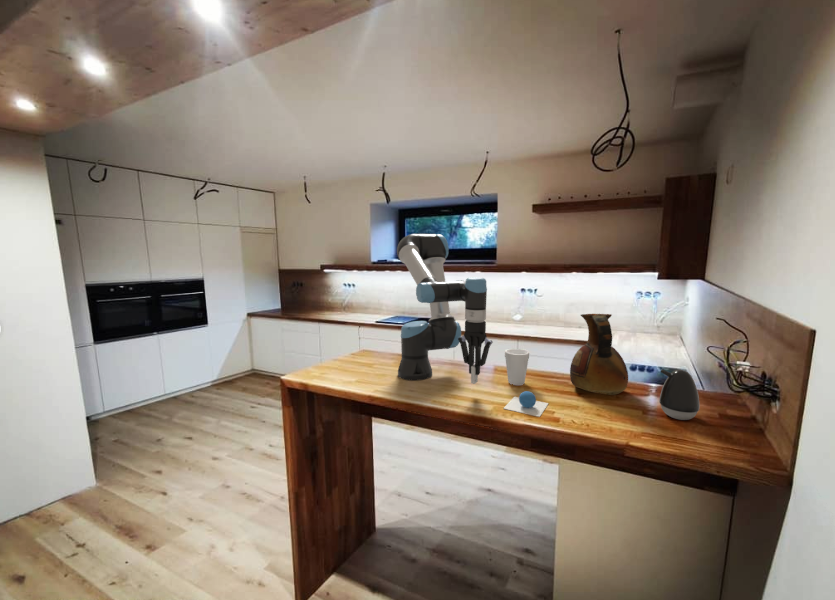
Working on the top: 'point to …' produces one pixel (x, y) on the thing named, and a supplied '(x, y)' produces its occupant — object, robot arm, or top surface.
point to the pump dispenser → (679, 395)
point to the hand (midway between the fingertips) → (474, 382)
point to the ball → (527, 399)
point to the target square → (517, 407)
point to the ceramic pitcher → (599, 360)
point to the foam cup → (516, 365)
